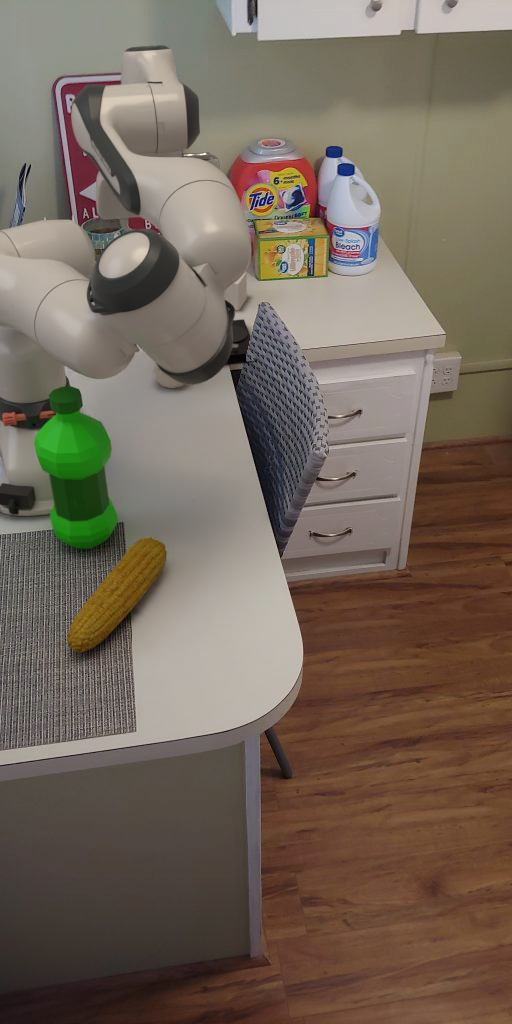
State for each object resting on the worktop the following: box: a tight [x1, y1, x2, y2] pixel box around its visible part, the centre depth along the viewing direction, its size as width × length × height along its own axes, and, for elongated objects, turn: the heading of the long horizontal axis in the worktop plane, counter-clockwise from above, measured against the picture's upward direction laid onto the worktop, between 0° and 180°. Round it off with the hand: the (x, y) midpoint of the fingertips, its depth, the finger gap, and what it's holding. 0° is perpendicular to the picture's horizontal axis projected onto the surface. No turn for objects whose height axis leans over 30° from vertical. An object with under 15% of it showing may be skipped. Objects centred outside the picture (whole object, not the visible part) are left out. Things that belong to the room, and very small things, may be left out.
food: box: [66, 536, 168, 653], centre depth 125 cm, size 21×6×6 cm, turn 156°
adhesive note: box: [225, 271, 248, 311], centre depth 198 cm, size 6×6×6 cm
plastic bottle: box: [34, 386, 119, 550], centre depth 131 cm, size 10×10×25 cm
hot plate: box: [225, 318, 252, 365], centre depth 183 cm, size 14×16×3 cm
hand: (160, 239), depth 156 cm, fingers open, 8 cm apart
